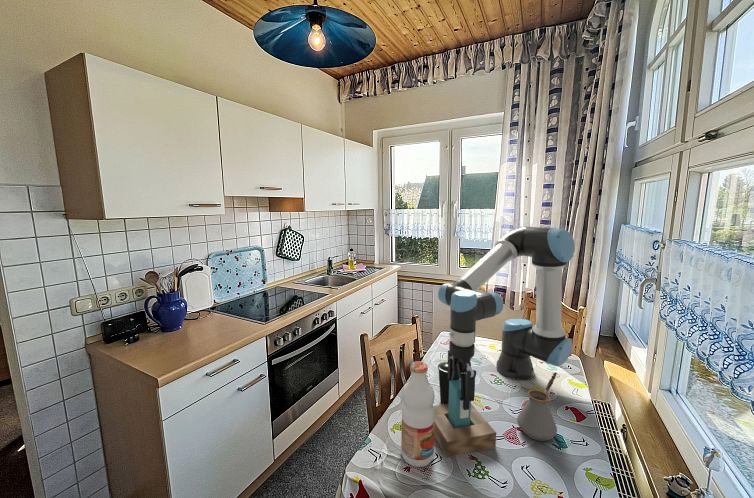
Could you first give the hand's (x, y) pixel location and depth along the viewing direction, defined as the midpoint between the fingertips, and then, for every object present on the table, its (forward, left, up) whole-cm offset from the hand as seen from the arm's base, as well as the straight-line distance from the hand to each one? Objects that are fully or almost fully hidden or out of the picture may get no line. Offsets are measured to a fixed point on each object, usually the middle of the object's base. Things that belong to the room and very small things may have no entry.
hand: (459, 411), depth 98 cm
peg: (0, 0, -5) cm, 5 cm away
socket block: (0, 0, -8) cm, 8 cm away
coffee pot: (-29, +3, -8) cm, 30 cm away
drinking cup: (-4, -16, -8) cm, 18 cm away
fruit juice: (+16, +5, -8) cm, 19 cm away
